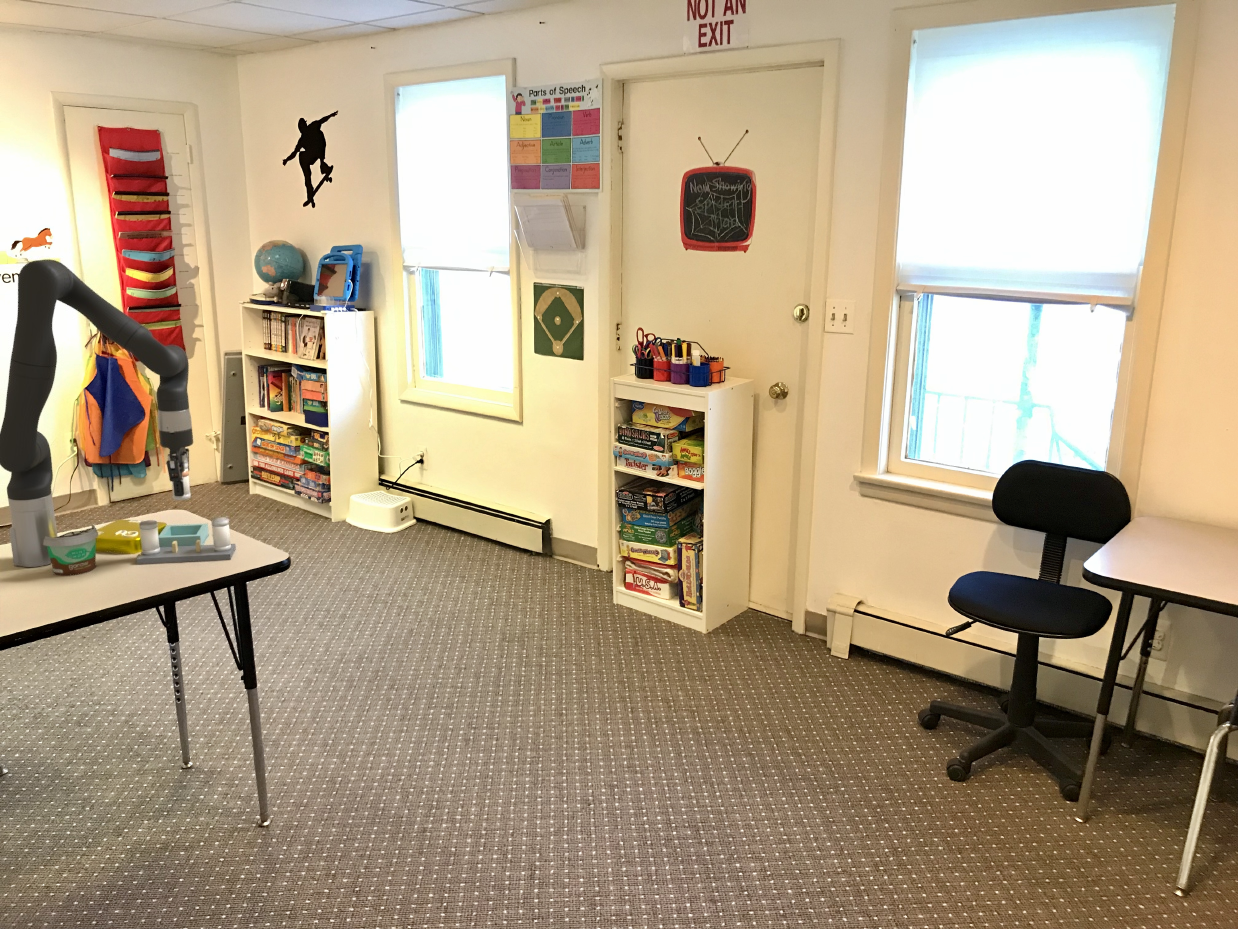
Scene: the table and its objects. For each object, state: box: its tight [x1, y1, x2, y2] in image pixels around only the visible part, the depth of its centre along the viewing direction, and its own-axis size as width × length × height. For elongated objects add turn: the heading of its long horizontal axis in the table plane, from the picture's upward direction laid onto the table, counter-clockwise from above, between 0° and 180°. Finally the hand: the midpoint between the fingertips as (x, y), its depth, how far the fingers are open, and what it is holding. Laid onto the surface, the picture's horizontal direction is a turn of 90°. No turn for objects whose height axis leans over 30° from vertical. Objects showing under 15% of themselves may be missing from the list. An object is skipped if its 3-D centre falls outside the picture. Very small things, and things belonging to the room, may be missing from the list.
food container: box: [43, 524, 98, 577], centre depth 227 cm, size 12×6×10 cm, turn 147°
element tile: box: [95, 519, 167, 555], centre depth 249 cm, size 15×15×5 cm
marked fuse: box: [171, 462, 192, 501], centre depth 235 cm, size 4×4×9 cm
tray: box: [158, 523, 210, 547], centre depth 250 cm, size 10×10×4 cm
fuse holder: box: [136, 516, 237, 565], centre depth 239 cm, size 22×8×10 cm, turn 103°
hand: (181, 492), depth 236 cm, fingers closed on marked fuse, 4 cm apart
